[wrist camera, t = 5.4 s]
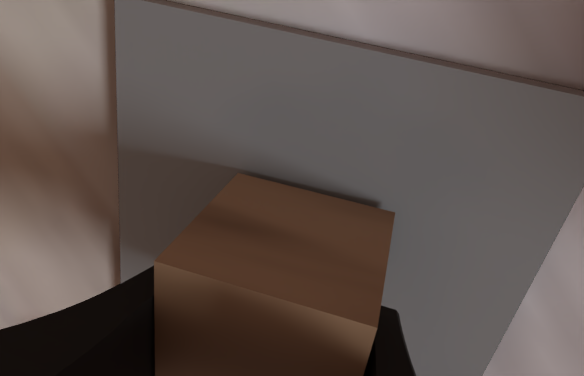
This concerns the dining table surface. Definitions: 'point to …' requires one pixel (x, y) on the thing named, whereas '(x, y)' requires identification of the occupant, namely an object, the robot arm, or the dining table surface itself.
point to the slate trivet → (352, 158)
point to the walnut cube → (271, 285)
